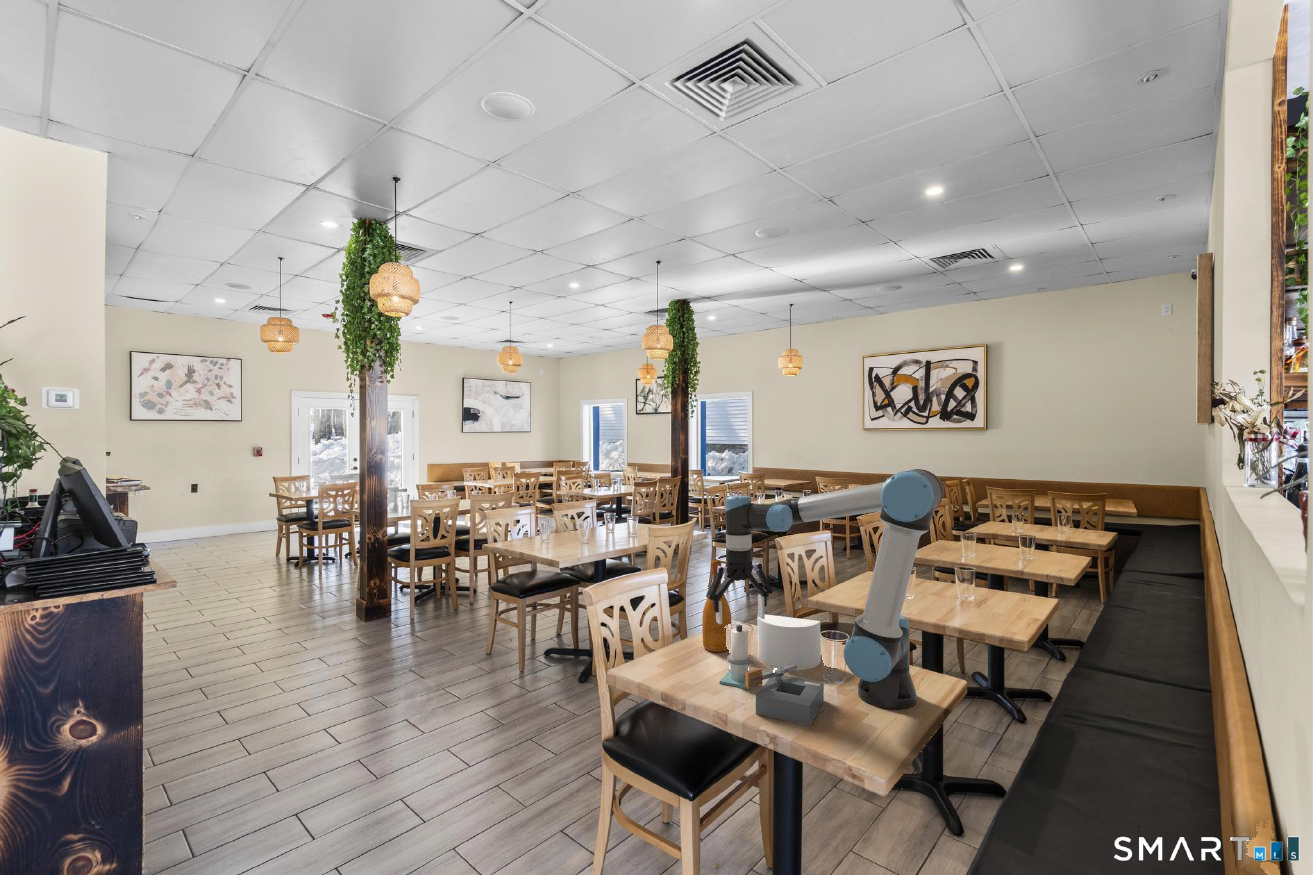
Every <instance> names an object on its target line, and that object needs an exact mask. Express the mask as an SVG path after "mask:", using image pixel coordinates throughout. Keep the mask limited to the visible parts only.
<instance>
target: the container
mask: <svg viewBox="0 0 1313 875" xmlns="http://www.w3.org/2000/svg"><path fill="white" fill-rule="evenodd" d="M756 618H757V658H758V660H759V661H760V662H761V663H762V664H764V665H766V666H769V667H772V668H773V667H775V666H780V667H785V666H789V665H792V664H795V665H797V670H796V671H802V670H810V669H813V668H816V667H818V666H819V665H820V664H821V661H822V660H821V659H822V657H821V647H822V645H821V642H822V641H821V640H822V639H821V620H816V619H815V620H814V619H805V618H798V617H788V616H783V615H782V616H781V615H773V614H772V615H771V614H765V619H761V618H760V617H758V615H757V616H756Z"/></svg>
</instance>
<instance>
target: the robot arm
mask: <svg viewBox="0 0 1313 875" xmlns="http://www.w3.org/2000/svg"><path fill="white" fill-rule="evenodd" d="M944 494H945V493H944V486H943V483H942V481H941V480H940V478H939V477H938V476H937V475H936V474H934V473H933V472H931V471H929V470H927V469H922V468H916V469H910V470H903V471H899V472H897V473H895V474H893V475H892V476H890V477H887V478H886V480H885V481H884V482H879V483H878V482H877V483H873V484H867V485H866V484H865V485H862V486H856V487H850V488H845V489H839V490H835V491H834V490H833V491H827V492H821V493H818V494H817V493H816V494H812V495H806V496H800V497H796V498H795V497H794V498H791V497H790V498H787V499H783V500H780V501H775V502H772V503H753V502H752V499H751V497H750V496H749V495H745V494H743V495H741V494H740V495H739V494H738V495H737V494H736V495H730V496H727V497H726V498H725V509H724V513H725V546H726V548H727V549H726V552H725V553H726V554H725V555H726V559H725V560H726V565H725V566H722V565H721V566H717V567H716V574H715V577H714V579H713V578H712V581H713V582H711V584H710V586H709V591H708V590H707V591H708V593H707V592H706V594H707V597H706V599H707V598H708V599H710V600H713V610H714V612H716V622H717V623H719V624H722V601H720V599H721V597H722V596H723V594H724V595H725V593H726V592H727V590H728V588H730V586H731V584H732V583H734V581H736V582H739V581H746V580H748V581H749V582H750V583H751V584H752V586H753V587H754V588H755V589H756V591H757V592H758V593H759V594H758V595H757V616H758V617H760V618H761V619H765V607H767V606H768V602H767V601H768V597H769V595H771V594H773V592H774V591H773V589H772V586H771V585H770V582H769V580H768V578H767V577H766V575H765V572H764V570H763V564H762V563H760V562H758V561H756V562H755V563H753V549H752V547H753V544H752V541H753V540H752V539H753V538H752V530H759V531H769V532H774V533H778V532H787V531H789V530H790V529H791V526H793V525H798V524H804V523H809V522H816V521H822V520H828V519H836V518H837V519H838V518H844V517H850V516H856V515H862V514H868V513H869V514H871V513H877V512H880V515H879V520H880V521H881V523H882V524H883V529H882V530H883V531H882V535H881V539H880V542H879V547H878V551H877V554H876V559H875V562H874V563H875V564H874V568H873V572H872V577H871V580H870V584H869V589H868V592H867V597H866V601H865V605H864V609H863V613H861V614H859V615H857V616H856V617H855V619H854V624H853V628H852V632H851V637H850V638H849V639H848V640H847V641H846V643H845V644H844V647H843V659H844V662H845V665H846V666H847V668H848V669H849V671H850V672H851V673H852V674H853V675H854V676H856V677H857V678H859V680H858V683H857V684H858V685H857V695H858V697H859V698H860V699H861V700H863V701H864V702H865V703H867V704H871V705H872V706H876V707H879V708H884V709H891V710H903V709H904V710H905V709H909V708H912V707H914V706H915V705H916V704H917V691H916V688H915V685H914V681H913V678H912V675H911V672H910V653H911V652H910V649H911V648H910V647H911V646H910V644H911V643H910V631H911V628H910V621H909V618H907V616H904V615H903V614H901V613H902V610H903V607H904V606H903V605H904V603H905V597H906V595H907V591H908V586H909V582H910V578H911V574H912V570H913V566H914V562H915V559H916V554H917V550H918V547H919V543H920V542H919V541H920V538H921V536H922V535H923V534H925V533H927V532H929V530H930V525H931V522H932V518H933V513H934V511H935V510H936V509H937V508H938V507H939V506H940V505H941V504H942V502H943V498H944ZM752 571H755V572H756V574H757V577H758V579H759V581H760V582H761V584H762V585H761V584H760V583H759V582H758V581H757V580H756V578H755V577H754V575H753V574H752ZM725 572H726V573H727V574H726V573H725ZM724 574H726V575H725V577H724ZM723 577H724V580H723V581H722V579H723ZM720 582H721V585H720V587H719V588H718V586H719V584H720ZM717 589H718V590H717Z"/></svg>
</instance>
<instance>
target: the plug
mask: <svg viewBox="0 0 1313 875" xmlns="http://www.w3.org/2000/svg"><path fill="white" fill-rule="evenodd" d="M748 647H749V630H748V629H746V628H743V625H742V624H736V627H735V628H731V647H730V653H729V654H728V655H727V658H726V660H727V662H728V664H730V670H731V679H732V680H734V681H738V682H742V681H745V672H746V671H749V665H750V664H751V663H752V656H751V655H750V654H749V648H748Z"/></svg>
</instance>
